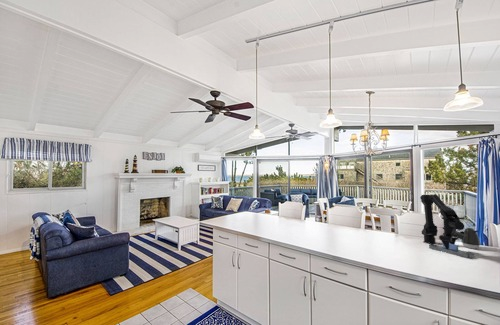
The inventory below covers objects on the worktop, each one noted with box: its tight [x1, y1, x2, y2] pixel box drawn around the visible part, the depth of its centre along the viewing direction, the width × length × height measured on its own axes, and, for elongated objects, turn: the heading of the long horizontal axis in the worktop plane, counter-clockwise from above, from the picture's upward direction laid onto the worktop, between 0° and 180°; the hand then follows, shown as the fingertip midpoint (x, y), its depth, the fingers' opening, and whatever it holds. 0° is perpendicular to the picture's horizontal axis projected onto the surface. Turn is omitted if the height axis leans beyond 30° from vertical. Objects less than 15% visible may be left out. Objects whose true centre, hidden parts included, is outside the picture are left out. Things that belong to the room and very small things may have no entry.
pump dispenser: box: [460, 227, 481, 250], centre depth 168 cm, size 10×10×15 cm
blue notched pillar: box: [441, 242, 459, 251], centre depth 157 cm, size 8×3×6 cm, turn 31°
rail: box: [428, 243, 475, 260], centre depth 157 cm, size 24×6×2 cm, turn 30°
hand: (450, 248), depth 157 cm, fingers open, 9 cm apart
